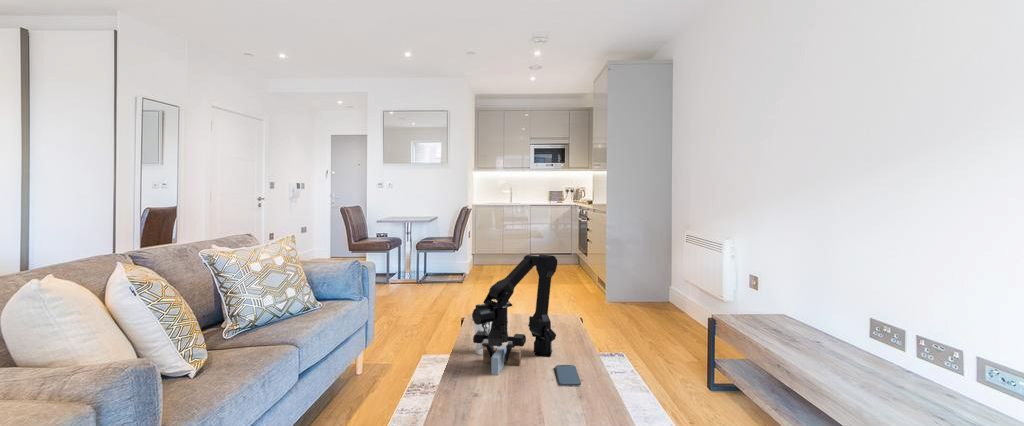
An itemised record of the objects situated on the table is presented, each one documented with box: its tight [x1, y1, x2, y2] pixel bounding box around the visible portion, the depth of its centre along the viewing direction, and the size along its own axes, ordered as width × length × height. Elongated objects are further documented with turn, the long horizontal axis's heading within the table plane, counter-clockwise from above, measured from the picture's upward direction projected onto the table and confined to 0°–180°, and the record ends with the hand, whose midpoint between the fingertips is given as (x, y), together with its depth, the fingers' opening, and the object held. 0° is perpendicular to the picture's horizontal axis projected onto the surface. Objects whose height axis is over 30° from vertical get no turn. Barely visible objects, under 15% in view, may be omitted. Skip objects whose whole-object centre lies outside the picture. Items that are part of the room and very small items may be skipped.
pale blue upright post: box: [490, 343, 507, 376], centre depth 156 cm, size 2×14×6 cm, turn 168°
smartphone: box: [554, 364, 582, 387], centre depth 148 cm, size 8×2×15 cm
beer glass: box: [473, 322, 492, 356], centre depth 171 cm, size 7×7×15 cm
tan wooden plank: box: [482, 347, 522, 367], centre depth 160 cm, size 14×2×5 cm, turn 78°
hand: (499, 361), depth 156 cm, fingers open, 5 cm apart
